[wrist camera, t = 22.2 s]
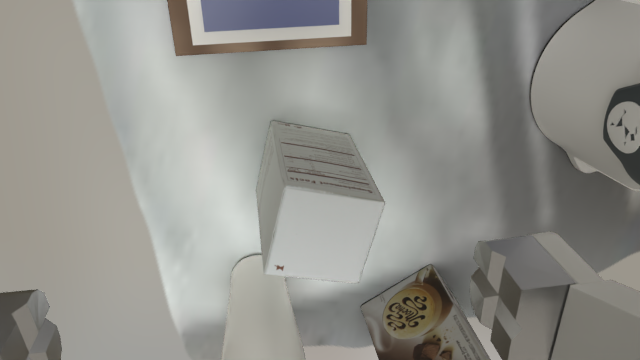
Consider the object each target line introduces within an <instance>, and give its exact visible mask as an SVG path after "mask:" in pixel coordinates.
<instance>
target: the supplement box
mask: <svg viewBox="0 0 640 360" xmlns="http://www.w3.org/2000/svg"><path fill="white" fill-rule="evenodd" d="M256 195H257V206H258V217H259V228H260V239H261V250H262V261H263V271H264V274H267V275H277V276H285V277H295V278H305V279H315V280H325V281H335V282H344V283H359V280H360V277H361V274H362V271H363V268H364V265H365V262H366V259H367V256H368V253H369V250H370V247H371V244H372V241H373V238H374V235H375V232H376V229H377V226H378V223H379V220H380V217H381V214H382V211H383V208H384V205H385V201H384V200H383V198H382V196H381V194H380V192H379V190H378V188H377V186H376V184H375V182H374V180H373V178H372V176H371V175H370V173H369V171H368V169H367V167H366V165H365V163H364V161H363V159H362V158H361V156H360V153H359V152H358V150H357V148H356V146H355V144H354V142H353V140H352V138H351V137H350V135H349V134H344V133H339V132H334V131H328V130H322V129H317V128H311V127H306V126H300V125H294V124H289V123H282V122H277V121H271V123H270V127H269V131H268V135H267V140H266V144H265V149H264V154H263V159H262V164H261V168H260V173H259V178H258V183H257V188H256Z"/></svg>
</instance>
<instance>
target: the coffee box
mask: <svg viewBox="0 0 640 360" xmlns="http://www.w3.org/2000/svg"><path fill="white" fill-rule="evenodd" d="M361 309H362V312H363V315H364V318H365V321H366V324H367V327H368V329H369V333H370V335H371V338H372V341H373V344H374V347H375V350H376V353H377V355H378V358H379V360H491V359H490V358H489V356H488V354H487V353H486V351H485V349H484V348H483V346H482V344H481V342H480V340H479V339H478V337H477V335H476V334H475V332H474V330H473V329H472V327H471V325H470V324H469V322H468V320H467V318H466V317H465V315H464V313H463V311H462V310H461V308H460V306H459V304H458V302H457V301H456V299H455V297H454V296H453V294H452V293H451V291H450V290H449V288H448V287H447V285H446V284H445V282H444V281H443V279H442V278H441V276H440V275H439V273H438V272H437V271H436V269H435V268H434V266H433V265H431V264H430V265H428V266H426V267H425V268H423V269H421V270H420V271H418V272H416V273H415V274H413V275H411V276H410V277H408V278H406V279H405V280H403V281H402V282H400V283H398V284H397V285H395V286H393V287H392V288H390V289H388V290H387V291H385V292H383V293H382V294H380V295H379V296H377V297H375V298H374V299H372V300H370V301H369V302H367V303H365V304H364V305H362V306H361Z"/></svg>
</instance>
